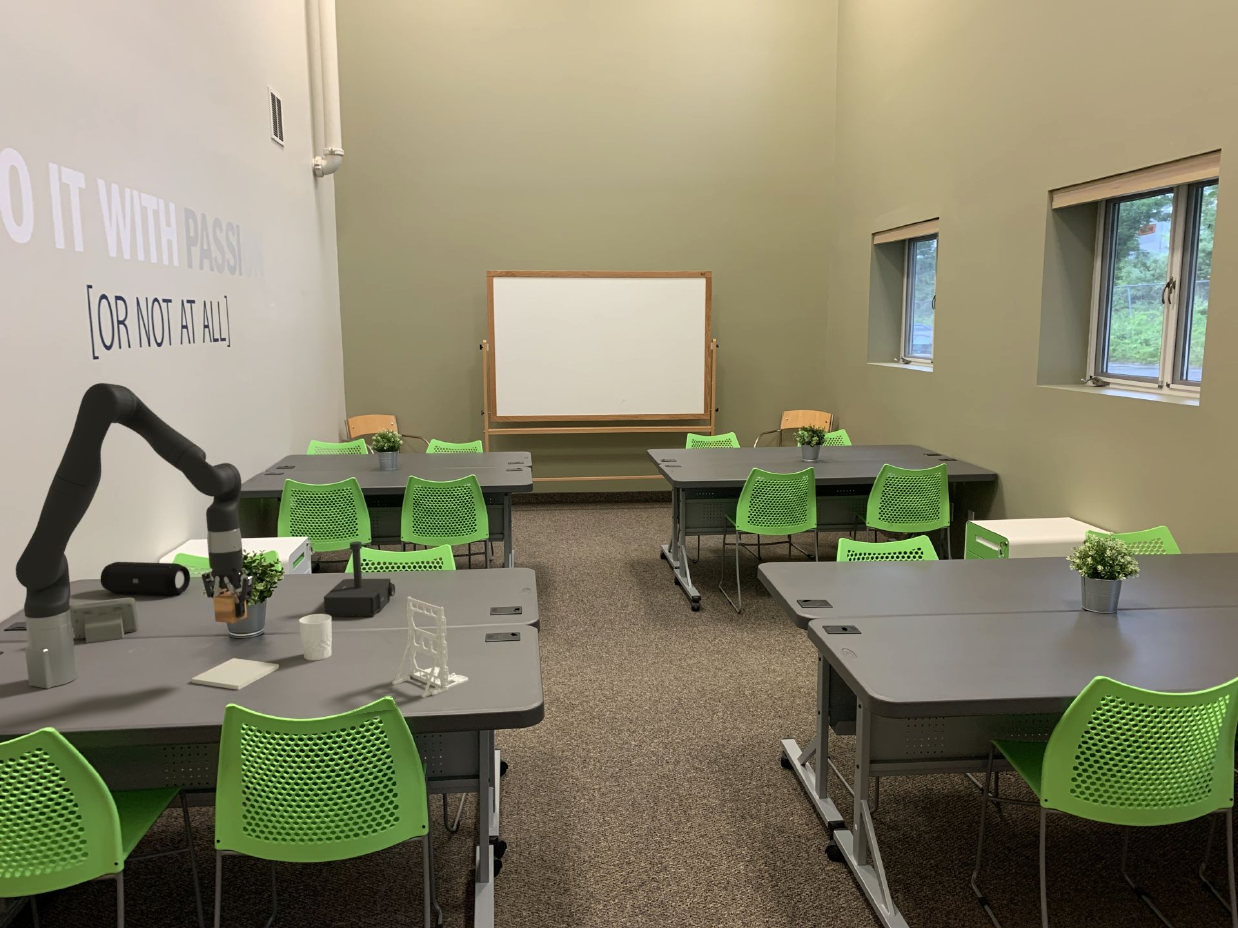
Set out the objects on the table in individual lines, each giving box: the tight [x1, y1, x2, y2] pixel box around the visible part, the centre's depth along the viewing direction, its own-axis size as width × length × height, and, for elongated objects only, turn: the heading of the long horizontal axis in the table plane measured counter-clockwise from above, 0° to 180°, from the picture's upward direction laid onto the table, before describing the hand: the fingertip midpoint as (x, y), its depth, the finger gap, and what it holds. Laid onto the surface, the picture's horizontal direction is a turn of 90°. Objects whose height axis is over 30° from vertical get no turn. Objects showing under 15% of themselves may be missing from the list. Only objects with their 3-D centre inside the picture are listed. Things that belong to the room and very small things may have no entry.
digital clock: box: [70, 597, 140, 644], centre depth 253 cm, size 16×9×11 cm, turn 101°
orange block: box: [212, 590, 248, 624], centre depth 223 cm, size 5×5×6 cm
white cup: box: [298, 613, 333, 662], centre depth 237 cm, size 8×8×10 cm
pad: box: [191, 657, 280, 690], centre depth 225 cm, size 14×14×1 cm
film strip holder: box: [391, 596, 469, 698], centre depth 218 cm, size 14×14×20 cm
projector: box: [323, 541, 396, 618], centre depth 276 cm, size 19×17×20 cm
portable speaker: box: [100, 561, 191, 596], centre depth 294 cm, size 26×10×10 cm, turn 82°
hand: (231, 615), depth 223 cm, fingers closed on orange block, 5 cm apart
